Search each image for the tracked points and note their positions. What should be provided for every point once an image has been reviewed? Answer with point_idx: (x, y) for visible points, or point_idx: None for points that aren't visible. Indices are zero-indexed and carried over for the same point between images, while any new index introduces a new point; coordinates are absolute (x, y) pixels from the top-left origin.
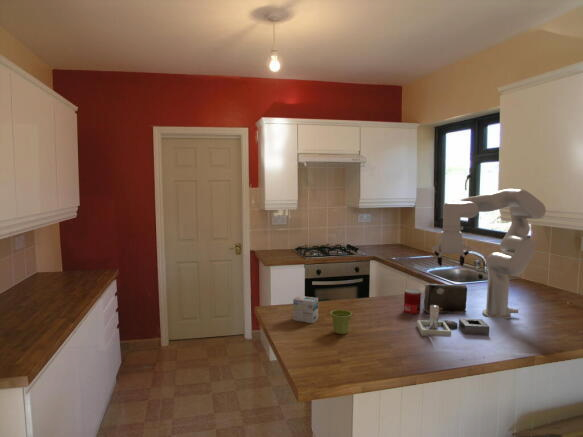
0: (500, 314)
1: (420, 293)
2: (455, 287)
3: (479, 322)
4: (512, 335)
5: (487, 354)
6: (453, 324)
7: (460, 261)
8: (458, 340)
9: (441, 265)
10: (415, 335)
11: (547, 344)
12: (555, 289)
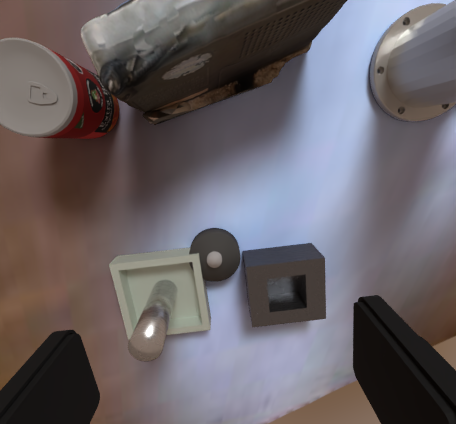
0: (429, 106)
1: (76, 107)
2: (287, 8)
3: (306, 288)
4: (386, 263)
5: (278, 388)
6: (226, 267)
7: (381, 372)
8: (227, 331)
9: (97, 397)
10: (116, 327)
11: (449, 302)
12: None
